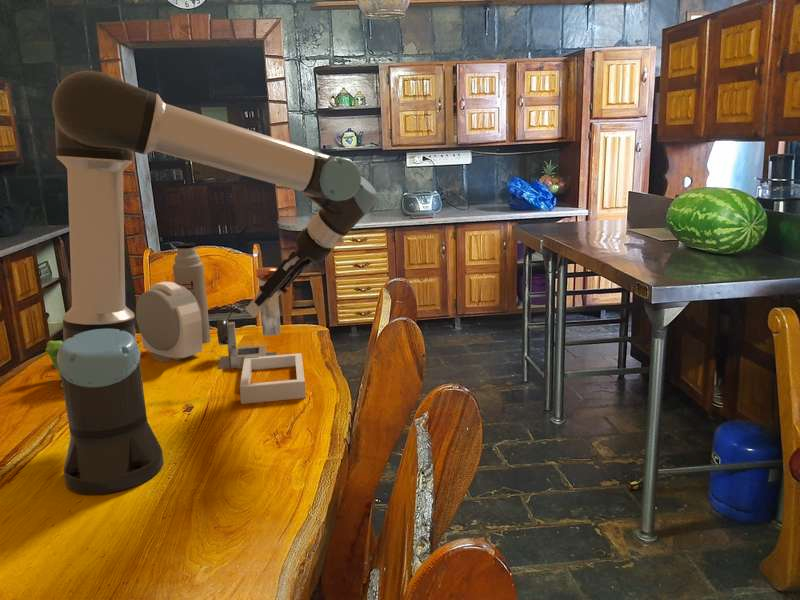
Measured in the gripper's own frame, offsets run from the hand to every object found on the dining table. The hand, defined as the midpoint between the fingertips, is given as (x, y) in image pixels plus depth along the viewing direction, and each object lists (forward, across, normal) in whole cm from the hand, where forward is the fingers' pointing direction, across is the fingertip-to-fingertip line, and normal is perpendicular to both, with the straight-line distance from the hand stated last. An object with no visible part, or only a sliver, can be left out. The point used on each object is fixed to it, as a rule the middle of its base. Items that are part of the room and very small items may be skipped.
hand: (255, 310), depth 139 cm
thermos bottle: (+36, +26, +11) cm, 46 cm away
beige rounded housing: (+34, +12, +10) cm, 38 cm away
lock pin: (+1, 0, -6) cm, 6 cm away
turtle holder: (+42, -7, +17) cm, 46 cm away
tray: (+10, 0, -15) cm, 18 cm away
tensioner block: (+19, +11, -6) cm, 23 cm away
